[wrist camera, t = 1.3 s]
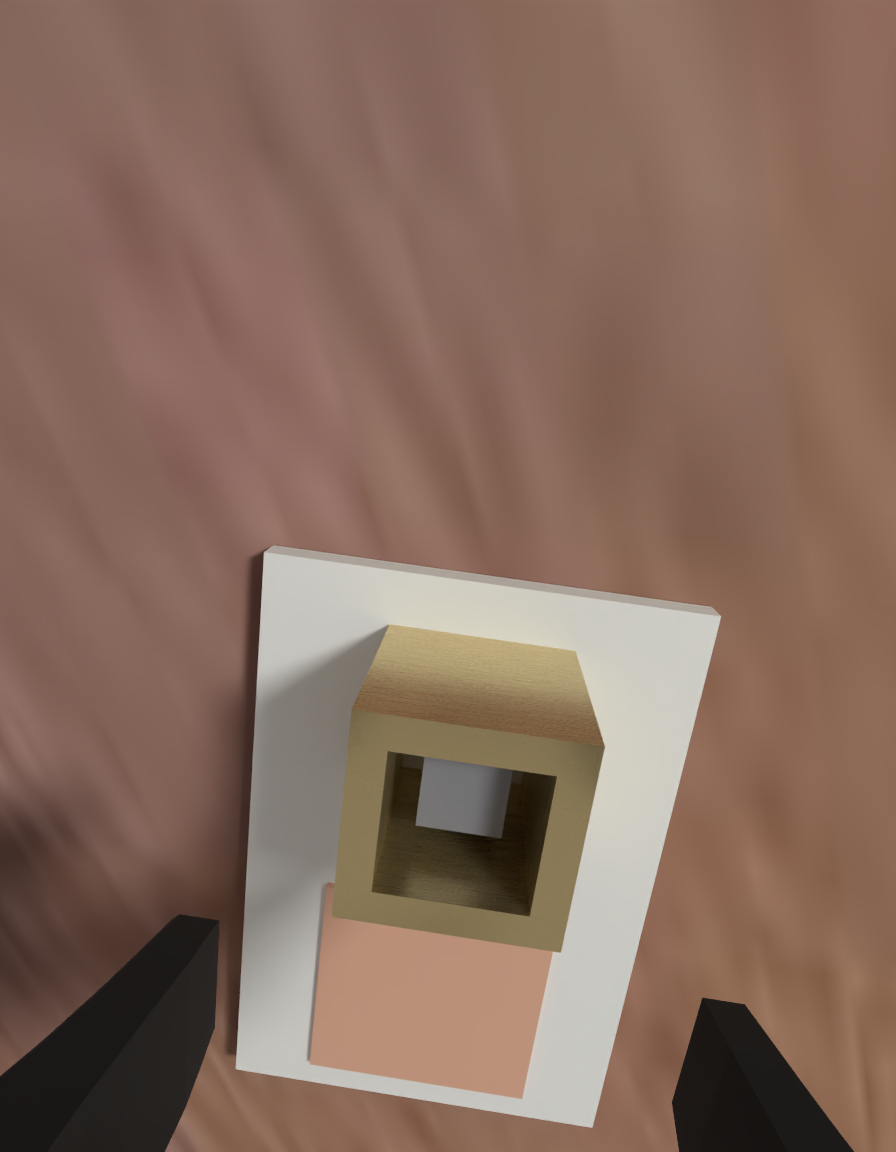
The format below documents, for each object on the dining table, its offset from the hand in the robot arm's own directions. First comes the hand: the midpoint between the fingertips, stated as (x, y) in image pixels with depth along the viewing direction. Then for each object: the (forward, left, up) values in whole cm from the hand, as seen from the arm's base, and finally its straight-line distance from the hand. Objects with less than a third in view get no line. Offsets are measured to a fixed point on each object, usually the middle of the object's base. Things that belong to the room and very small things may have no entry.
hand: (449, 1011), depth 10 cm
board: (0, -5, -10) cm, 11 cm away
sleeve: (0, 0, -9) cm, 9 cm away
